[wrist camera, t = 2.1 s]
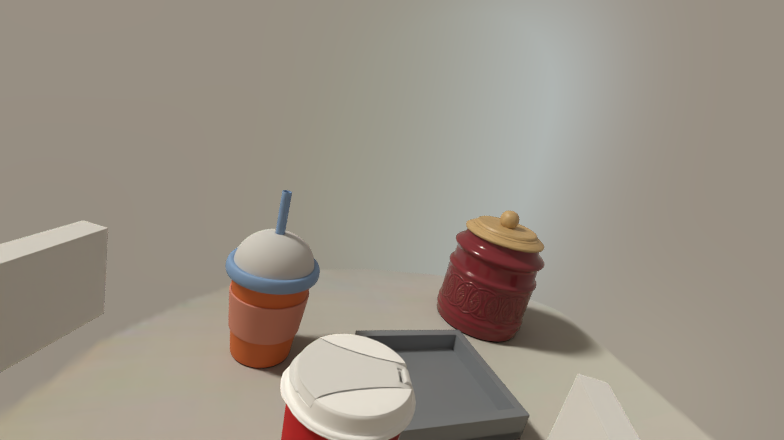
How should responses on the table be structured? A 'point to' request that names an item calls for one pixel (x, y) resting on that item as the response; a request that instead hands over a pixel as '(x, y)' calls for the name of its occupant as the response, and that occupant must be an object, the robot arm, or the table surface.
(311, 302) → the table surface
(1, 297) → the robot arm
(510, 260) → the canister
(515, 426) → the tray
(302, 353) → the paper cup
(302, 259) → the cup with straw
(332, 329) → the table surface
